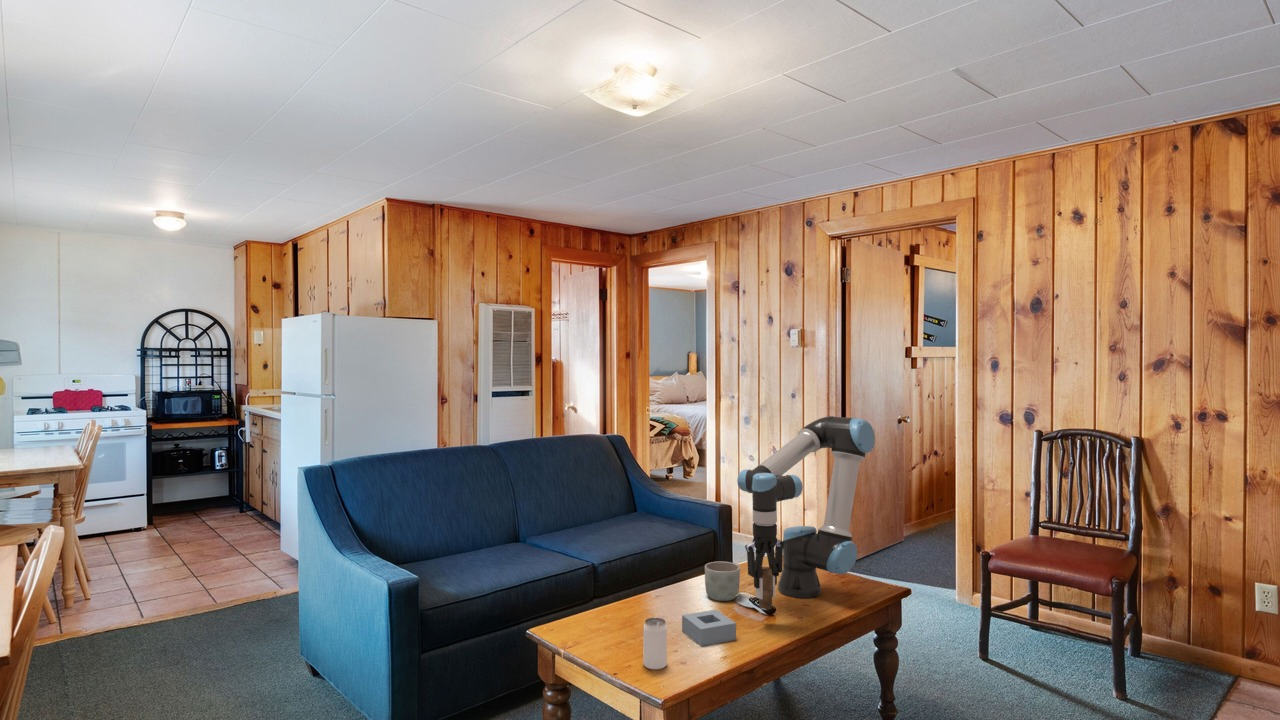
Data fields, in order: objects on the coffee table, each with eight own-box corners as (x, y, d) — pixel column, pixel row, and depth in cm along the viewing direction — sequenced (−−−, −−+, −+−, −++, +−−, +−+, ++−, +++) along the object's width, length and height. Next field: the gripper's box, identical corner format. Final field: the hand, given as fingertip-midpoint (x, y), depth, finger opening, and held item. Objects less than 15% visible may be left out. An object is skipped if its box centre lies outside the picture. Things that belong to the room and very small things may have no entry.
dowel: (767, 603, 219) (766, 565, 219) (774, 607, 216) (774, 569, 215) (756, 605, 218) (756, 567, 218) (763, 609, 214) (763, 571, 214)
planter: (739, 604, 234) (739, 572, 234) (703, 602, 237) (703, 570, 237) (740, 592, 247) (740, 562, 247) (706, 590, 249) (706, 560, 249)
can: (652, 672, 183) (652, 627, 183) (638, 663, 189) (638, 620, 189) (671, 666, 187) (671, 622, 187) (657, 657, 192) (657, 615, 192)
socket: (715, 625, 216) (716, 609, 216) (736, 639, 205) (736, 623, 205) (682, 631, 211) (682, 615, 211) (700, 646, 200) (700, 629, 200)
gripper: (780, 517, 223) (780, 588, 224) (735, 523, 216) (736, 597, 217) (794, 522, 216) (794, 596, 217) (748, 529, 209) (749, 605, 210)
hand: (765, 596), depth 217 cm, fingers closed on dowel, 4 cm apart
